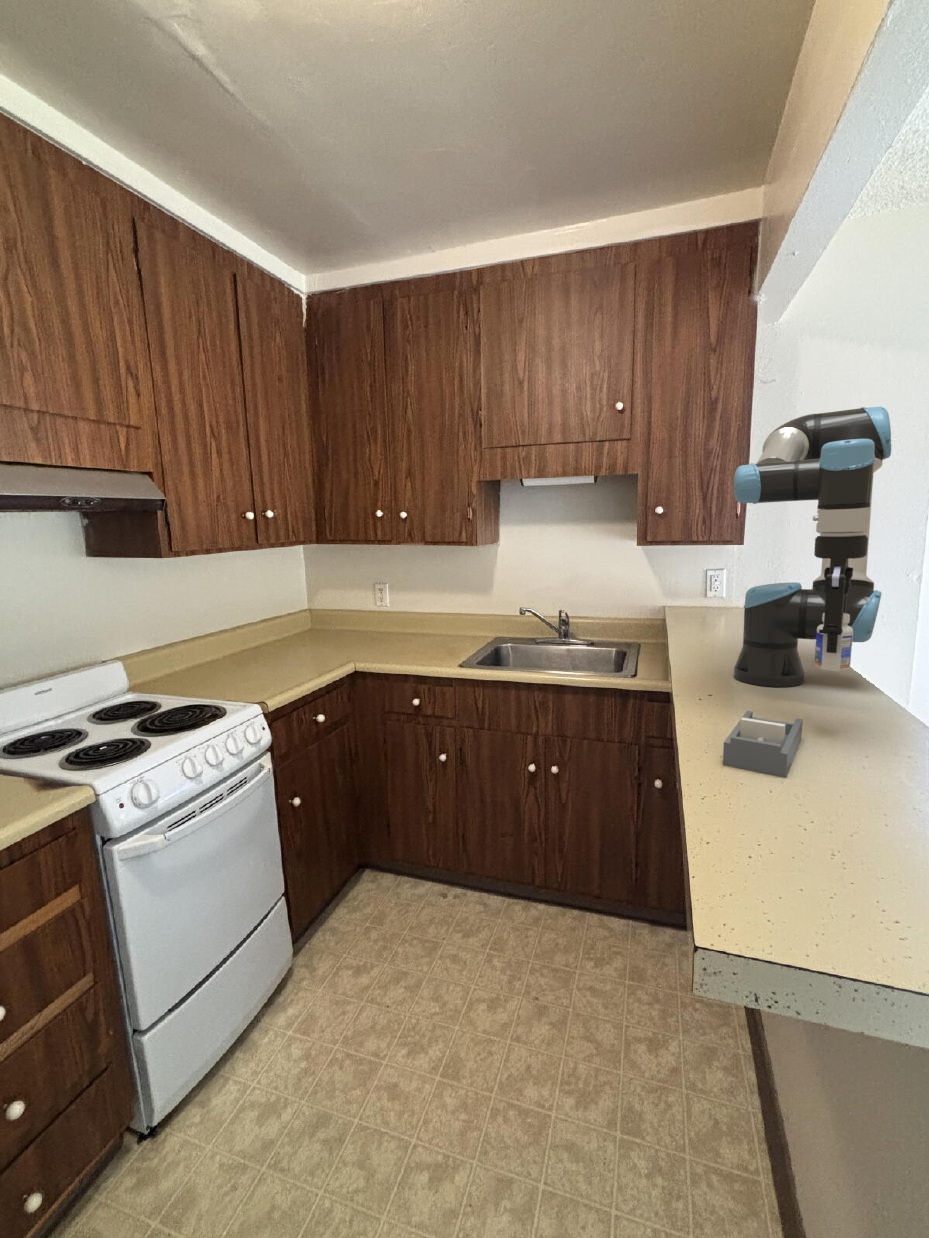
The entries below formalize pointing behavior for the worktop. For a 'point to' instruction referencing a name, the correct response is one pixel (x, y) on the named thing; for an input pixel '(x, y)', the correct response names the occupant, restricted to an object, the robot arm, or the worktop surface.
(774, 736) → the pusher
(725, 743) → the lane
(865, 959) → the worktop surface
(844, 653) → the pill bottle
